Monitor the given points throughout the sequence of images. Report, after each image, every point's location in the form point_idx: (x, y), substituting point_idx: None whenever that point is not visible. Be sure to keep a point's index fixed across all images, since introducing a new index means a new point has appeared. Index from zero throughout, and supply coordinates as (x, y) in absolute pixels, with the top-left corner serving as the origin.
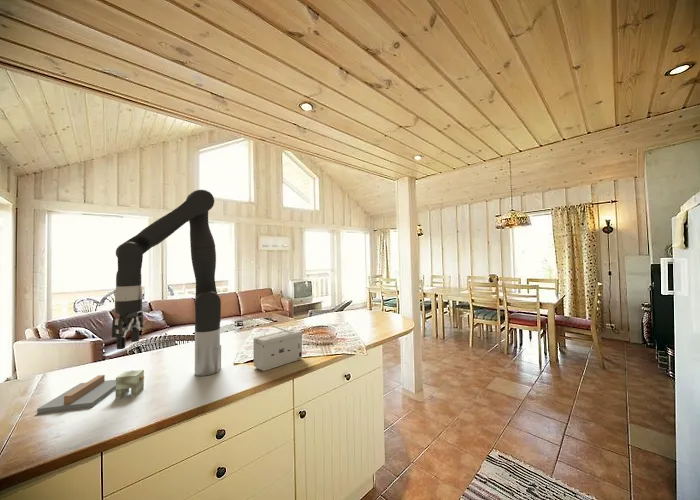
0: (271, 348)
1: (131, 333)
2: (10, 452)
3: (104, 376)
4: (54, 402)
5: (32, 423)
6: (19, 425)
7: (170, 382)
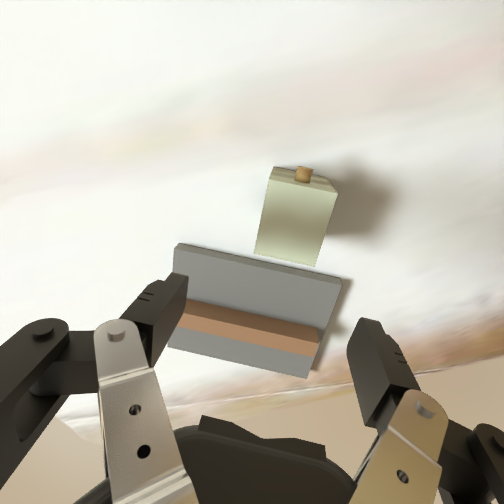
0: None
1: (157, 358)
2: (493, 353)
3: None
4: (285, 361)
5: None
6: (352, 378)
7: (243, 71)
